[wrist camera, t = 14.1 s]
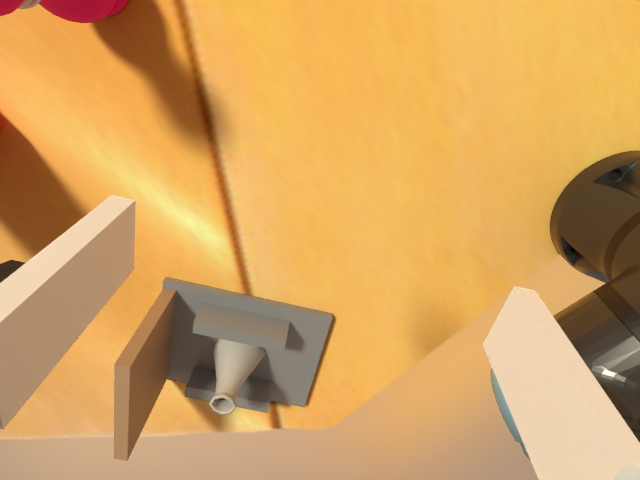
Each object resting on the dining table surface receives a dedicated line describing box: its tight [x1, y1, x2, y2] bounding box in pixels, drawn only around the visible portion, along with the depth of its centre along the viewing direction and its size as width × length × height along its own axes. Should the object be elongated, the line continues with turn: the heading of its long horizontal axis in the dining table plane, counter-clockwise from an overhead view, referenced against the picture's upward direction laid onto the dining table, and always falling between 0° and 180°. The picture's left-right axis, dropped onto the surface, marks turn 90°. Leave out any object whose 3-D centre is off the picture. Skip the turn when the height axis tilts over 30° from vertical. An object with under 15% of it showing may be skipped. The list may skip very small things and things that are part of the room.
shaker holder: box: [114, 277, 333, 461], centre depth 56 cm, size 23×18×15 cm
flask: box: [209, 339, 266, 415], centre depth 57 cm, size 7×7×10 cm
